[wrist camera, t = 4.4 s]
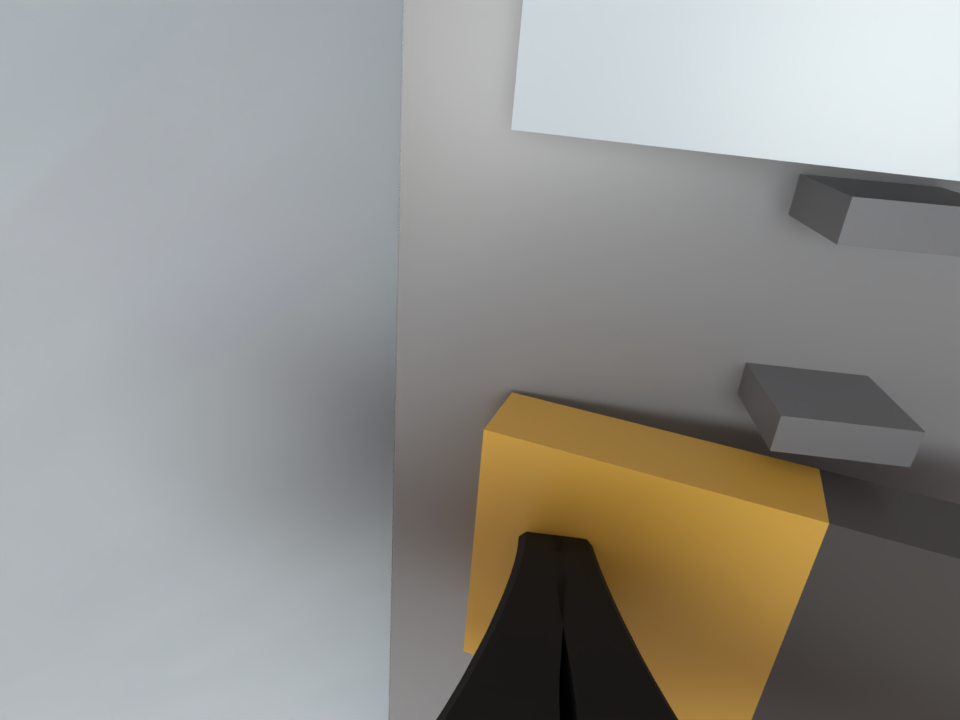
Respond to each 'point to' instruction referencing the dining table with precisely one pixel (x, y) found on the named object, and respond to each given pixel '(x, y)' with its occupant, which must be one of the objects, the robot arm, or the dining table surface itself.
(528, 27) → the rocker
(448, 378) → the rocker switch panel
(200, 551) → the dining table surface
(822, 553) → the block
